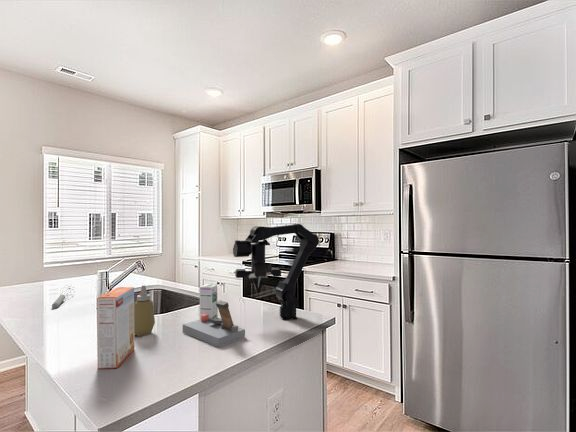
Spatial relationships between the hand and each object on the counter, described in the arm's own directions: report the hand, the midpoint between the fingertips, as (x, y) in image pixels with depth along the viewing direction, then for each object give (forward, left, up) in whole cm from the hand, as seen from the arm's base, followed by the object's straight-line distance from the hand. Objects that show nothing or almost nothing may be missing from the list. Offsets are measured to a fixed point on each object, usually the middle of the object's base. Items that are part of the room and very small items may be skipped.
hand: (258, 293), depth 140 cm
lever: (+13, +16, -8) cm, 22 cm away
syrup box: (+20, -9, -12) cm, 25 cm away
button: (+22, +4, -9) cm, 24 cm away
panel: (+19, +11, -12) cm, 25 cm away
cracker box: (+48, +26, -12) cm, 56 cm away
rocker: (+17, +9, -8) cm, 22 cm away
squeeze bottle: (+44, +4, -12) cm, 46 cm away
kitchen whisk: (+92, -57, -12) cm, 109 cm away
